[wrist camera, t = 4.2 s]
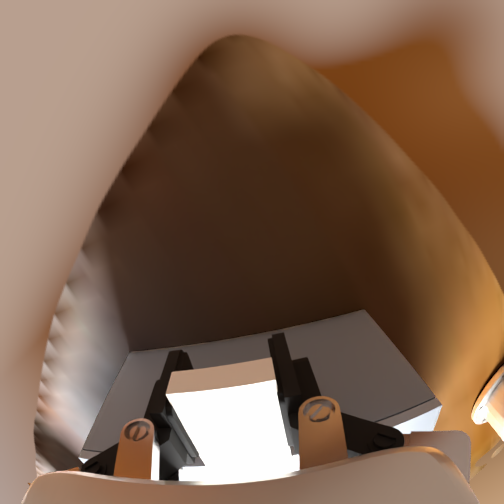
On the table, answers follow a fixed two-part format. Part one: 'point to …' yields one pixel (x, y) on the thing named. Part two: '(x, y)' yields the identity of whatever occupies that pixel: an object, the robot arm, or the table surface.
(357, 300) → the table surface
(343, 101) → the table surface
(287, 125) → the table surface
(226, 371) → the carton lid
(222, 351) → the carton
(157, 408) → the robot arm
